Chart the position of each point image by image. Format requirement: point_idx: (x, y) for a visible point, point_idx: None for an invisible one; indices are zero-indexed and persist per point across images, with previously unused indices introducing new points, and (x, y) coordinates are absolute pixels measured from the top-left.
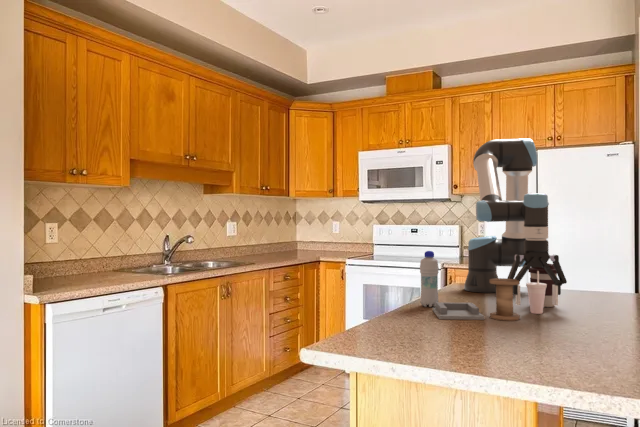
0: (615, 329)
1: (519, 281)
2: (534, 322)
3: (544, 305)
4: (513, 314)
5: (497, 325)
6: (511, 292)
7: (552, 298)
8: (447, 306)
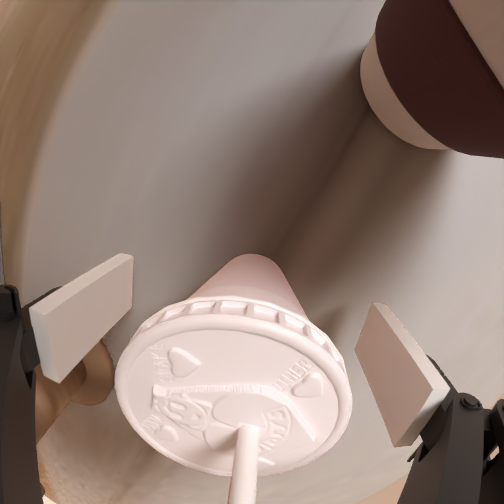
0: (337, 497)
1: None
2: None
3: (400, 136)
4: (89, 368)
5: None
6: None
7: (384, 321)
8: None
